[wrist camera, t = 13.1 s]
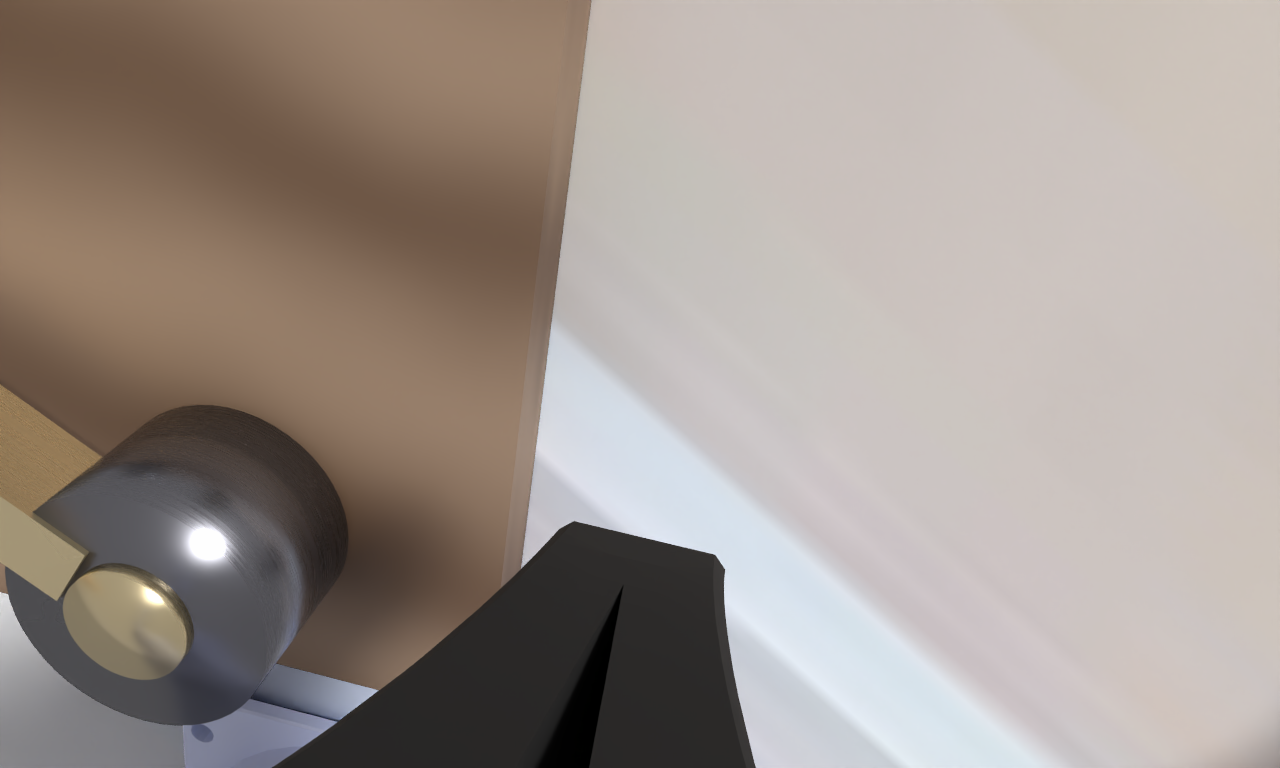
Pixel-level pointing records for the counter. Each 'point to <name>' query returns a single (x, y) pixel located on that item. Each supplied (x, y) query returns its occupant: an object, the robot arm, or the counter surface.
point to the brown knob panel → (304, 261)
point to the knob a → (165, 555)
